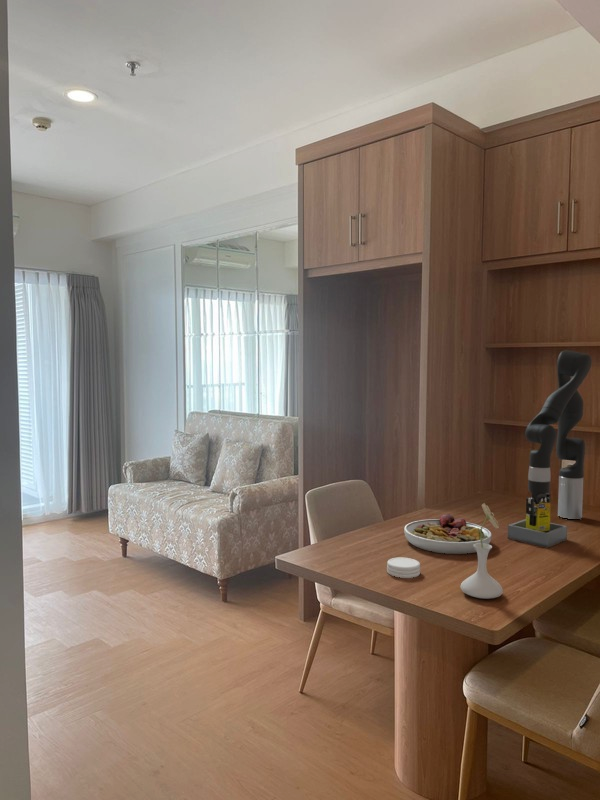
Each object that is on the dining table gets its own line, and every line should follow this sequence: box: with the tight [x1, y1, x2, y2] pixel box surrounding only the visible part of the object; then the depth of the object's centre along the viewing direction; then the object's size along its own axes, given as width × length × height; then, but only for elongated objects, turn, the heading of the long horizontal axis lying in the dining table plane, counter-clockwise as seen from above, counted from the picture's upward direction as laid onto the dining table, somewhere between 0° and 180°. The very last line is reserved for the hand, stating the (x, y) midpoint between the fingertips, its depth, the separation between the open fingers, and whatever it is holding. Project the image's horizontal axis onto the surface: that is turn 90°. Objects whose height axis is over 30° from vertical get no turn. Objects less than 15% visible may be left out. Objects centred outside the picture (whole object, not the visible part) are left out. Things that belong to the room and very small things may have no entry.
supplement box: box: [525, 502, 551, 533], centre depth 222 cm, size 6×6×11 cm
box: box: [507, 518, 568, 549], centre depth 222 cm, size 15×15×5 cm
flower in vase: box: [460, 502, 504, 600], centre depth 169 cm, size 13×11×25 cm
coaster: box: [386, 556, 421, 579], centre depth 186 cm, size 10×10×4 cm
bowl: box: [403, 513, 492, 555], centre depth 217 cm, size 30×30×8 cm
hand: (537, 523), depth 222 cm, fingers closed on supplement box, 7 cm apart
